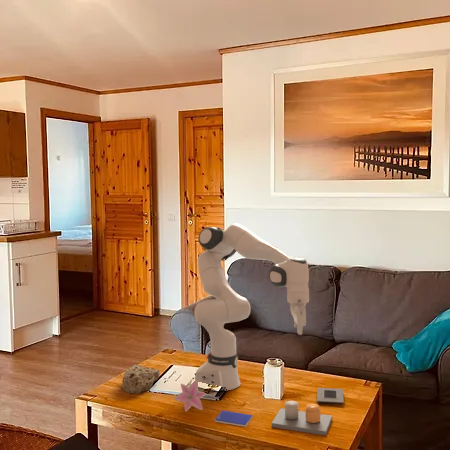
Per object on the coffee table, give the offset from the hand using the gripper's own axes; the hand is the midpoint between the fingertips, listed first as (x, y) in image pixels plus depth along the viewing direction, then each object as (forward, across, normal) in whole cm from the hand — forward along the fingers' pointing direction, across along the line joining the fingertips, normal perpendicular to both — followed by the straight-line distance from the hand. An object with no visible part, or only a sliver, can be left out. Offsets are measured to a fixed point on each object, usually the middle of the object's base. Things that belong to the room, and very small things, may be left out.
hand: (298, 330), depth 214 cm
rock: (+30, +18, +68) cm, 77 cm away
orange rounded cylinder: (+27, -22, -2) cm, 35 cm away
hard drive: (+30, -16, +27) cm, 44 cm away
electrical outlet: (+30, 0, -13) cm, 33 cm away
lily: (+29, -5, +44) cm, 53 cm away
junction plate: (+29, -21, +2) cm, 36 cm away
